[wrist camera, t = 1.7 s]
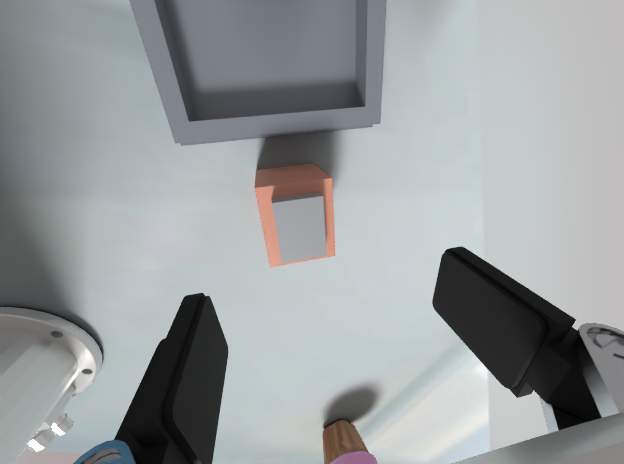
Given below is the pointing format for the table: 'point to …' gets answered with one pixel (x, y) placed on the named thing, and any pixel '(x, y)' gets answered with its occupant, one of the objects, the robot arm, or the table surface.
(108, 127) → the table surface
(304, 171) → the pink and grey block
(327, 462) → the cupcake
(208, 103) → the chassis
